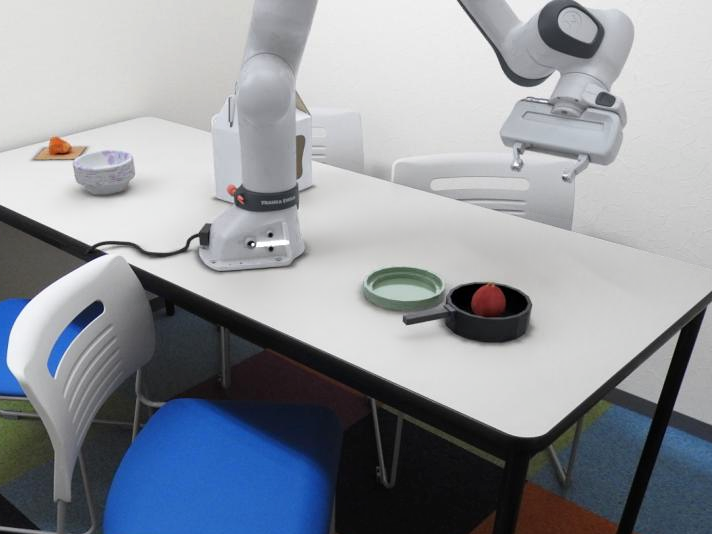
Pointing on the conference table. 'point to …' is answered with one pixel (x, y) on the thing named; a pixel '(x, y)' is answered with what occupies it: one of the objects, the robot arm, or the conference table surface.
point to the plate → (404, 287)
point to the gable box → (230, 148)
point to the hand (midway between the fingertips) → (540, 175)
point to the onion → (488, 301)
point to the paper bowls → (104, 171)
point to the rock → (60, 150)
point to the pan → (478, 327)
